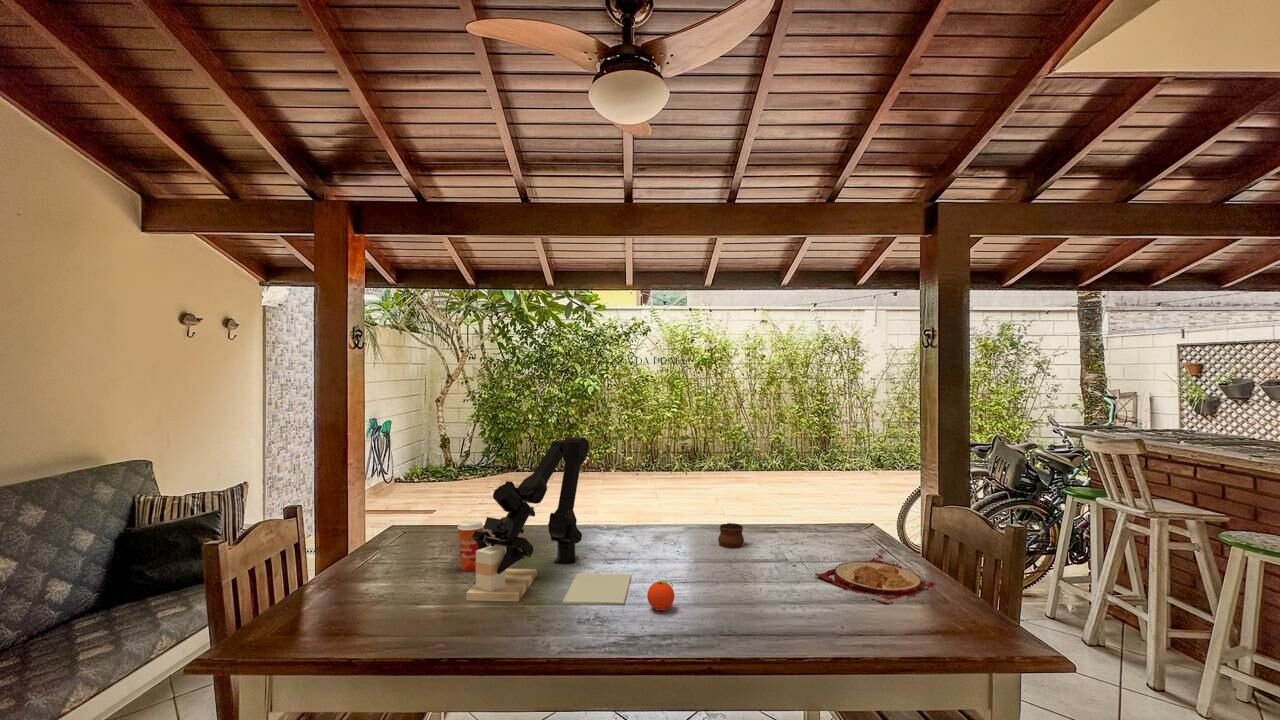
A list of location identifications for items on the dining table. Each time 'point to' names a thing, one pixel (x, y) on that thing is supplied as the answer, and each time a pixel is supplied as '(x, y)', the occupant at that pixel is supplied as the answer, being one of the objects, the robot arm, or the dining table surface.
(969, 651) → the dining table surface
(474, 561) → the paper cup
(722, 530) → the ceramic pot
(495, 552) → the carton
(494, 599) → the board
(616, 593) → the mat
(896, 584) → the plate with food
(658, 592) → the clementine
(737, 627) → the dining table surface
